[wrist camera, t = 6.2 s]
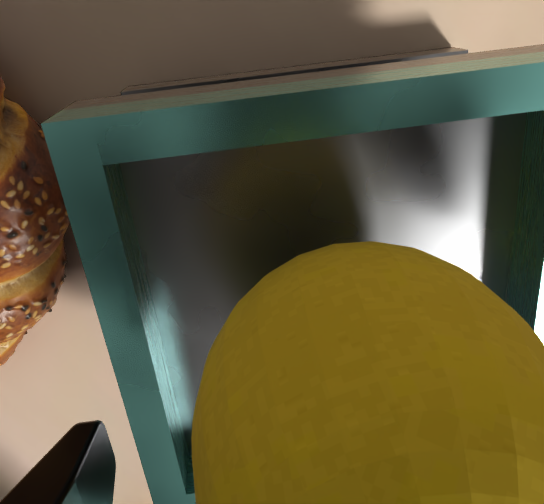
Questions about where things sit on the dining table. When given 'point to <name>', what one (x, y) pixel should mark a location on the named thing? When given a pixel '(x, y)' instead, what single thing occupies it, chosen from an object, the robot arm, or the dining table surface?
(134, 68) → the dining table surface
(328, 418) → the lemon
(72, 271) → the dining table surface
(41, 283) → the pretzel
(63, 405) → the dining table surface
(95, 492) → the robot arm
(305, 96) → the teal tray on stand
